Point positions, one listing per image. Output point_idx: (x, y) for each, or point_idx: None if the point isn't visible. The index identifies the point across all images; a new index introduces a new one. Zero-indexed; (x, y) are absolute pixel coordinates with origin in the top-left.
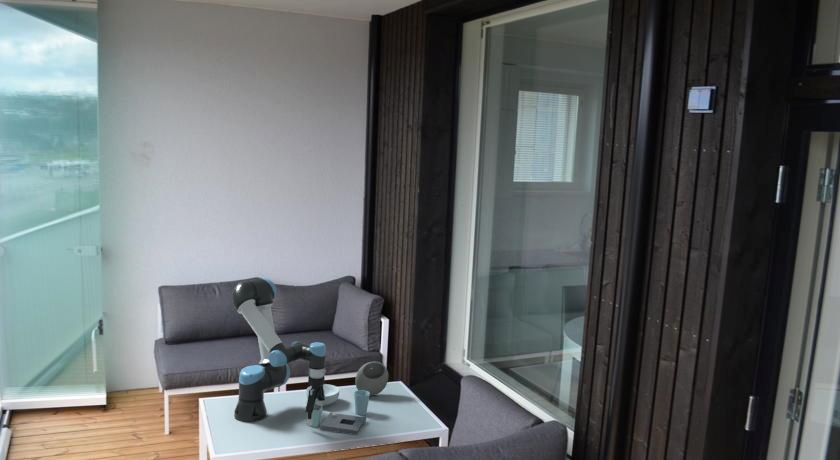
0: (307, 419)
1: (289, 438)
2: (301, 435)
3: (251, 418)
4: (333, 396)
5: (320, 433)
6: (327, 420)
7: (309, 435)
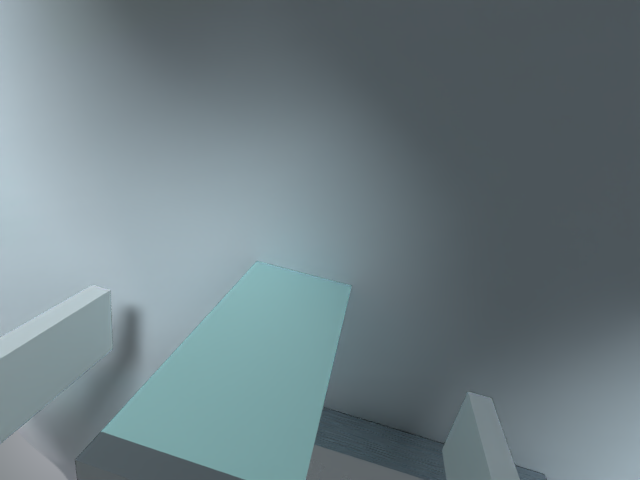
0: (22, 332)
1: None
2: (33, 219)
3: None
4: None
5: (130, 374)
6: (314, 473)
7: (62, 289)
